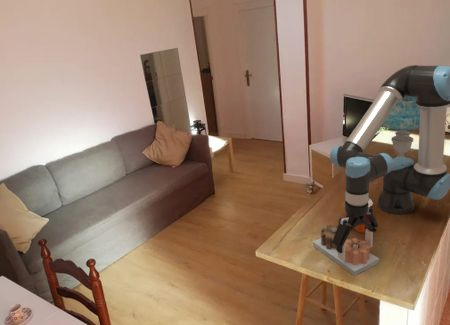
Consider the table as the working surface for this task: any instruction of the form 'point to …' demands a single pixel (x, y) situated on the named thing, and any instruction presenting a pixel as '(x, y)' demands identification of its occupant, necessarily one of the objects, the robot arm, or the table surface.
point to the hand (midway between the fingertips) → (355, 252)
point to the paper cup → (362, 227)
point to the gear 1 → (328, 236)
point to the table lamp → (403, 124)
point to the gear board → (348, 266)
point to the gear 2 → (356, 251)
